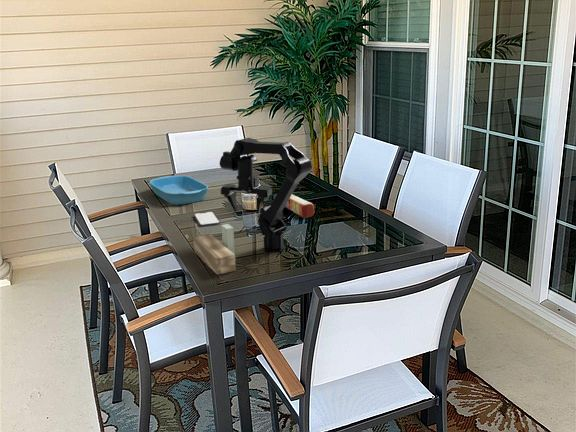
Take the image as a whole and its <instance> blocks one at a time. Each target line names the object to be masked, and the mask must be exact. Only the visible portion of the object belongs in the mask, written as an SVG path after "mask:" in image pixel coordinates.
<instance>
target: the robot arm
mask: <svg viewBox="0 0 576 432" xmlns="http://www.w3.org/2000/svg"><path fill="white" fill-rule="evenodd" d="M254 154H264V155H266V154H267V155H269V154H270V155H279V156H280V159H281V161H282V164H283V165H284V167H285V168H286V170H285V178H284V180H283V183H282V185H281V187H280V188H279V189H278V191H277V193H276V196H275V197H274V199H273V201H272V202H271V205H268V206H266V207H263V208H262V206H263V203H264V200H265V199H267V198H268V197H270V196H271V195H272V194H273V189H272V187H271V186H265V185H261V186H260V187H259V184H260V178H258V177H256V176H255V173H254V163H255V162H257V161H258V158H257V157H256V156H255V155H254ZM292 158H293V159H292ZM219 167H220V168H221V169H222V170H226V171H227V170H228V171H233V172H237V176H236V180H237V185H238V186H236V184H233V183H232V184H231V183H226V184H224V185H223V186H221V188H220V195H222V196H223V197H224V198H226V199H227V200H228V202H229V204H230V205H231V207H232V209H233V211H234V212H235V213H237V211H238V206H237V203H238V202H237V193H241V194H252V195H253V194H256V196H257V197H256V212H257V214H258V215H257V217H258V218H257V219H258V220H257V223H258V225H259V230H260V232H261V235H262V236H263V247H264V248H263V251H266V252H274V253H275V252H276V253H281V252H282V250H283V249H285V247H286V244H284V232H285V231H287V224H286V223H285V222H284V220H283V217H284V216H283V211H284V209H285V208H286V207H285V205H286V204H287V202H288V200H289V198H290V197H291V195H292V194H293V193H294V192H295V189H296V187H297V186H298V184H299V183H300V182H301V181H302V180H303V179H304V178H305V177H307V175H308V174H310V172H311V171H312V169H313V165H312V161H311V160H310V159H309V157H307V156H306V155H305V154H304V153H303V151H300V150H298V148H296V147H295V146H294V145H293V144H292V143H291V142H288V141H285V142H278V141H277V142H274V141H259V140H257V139H256V138H251V137H246V138H241V139H237V140H235V142H234V144H233V147H232V149H231V150H230V151H226V150H225V151H223V152H222V155H221V157H220V160H219ZM256 187H257V188H256Z"/></svg>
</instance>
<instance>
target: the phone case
mask: <svg viewBox="0 0 576 432" xmlns="http://www.w3.org/2000/svg"><path fill="white" fill-rule="evenodd" d="M193 218H194V219H195V221H196V223H197V224H198V226H199V227H201V228H204V227H205V228H206V227H212V226H220V224H221V222H220V221H219V219H218V217H217V216H216V215H215V213H214V212H213V211H207V212H197V213H194V214H193Z"/></svg>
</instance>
